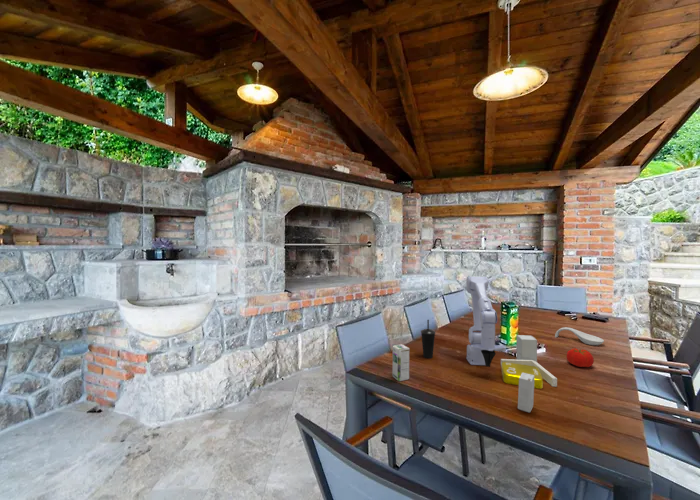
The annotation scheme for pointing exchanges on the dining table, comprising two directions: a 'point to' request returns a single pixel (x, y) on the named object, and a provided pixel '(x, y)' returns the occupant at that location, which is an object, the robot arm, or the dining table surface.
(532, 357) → the supplement box
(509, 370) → the element tile
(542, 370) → the white l-shaped strip
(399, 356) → the syrup box
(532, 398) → the skincare box
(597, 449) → the dining table surface
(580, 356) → the tomato
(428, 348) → the drinking cup
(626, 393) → the dining table surface
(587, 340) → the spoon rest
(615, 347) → the dining table surface
